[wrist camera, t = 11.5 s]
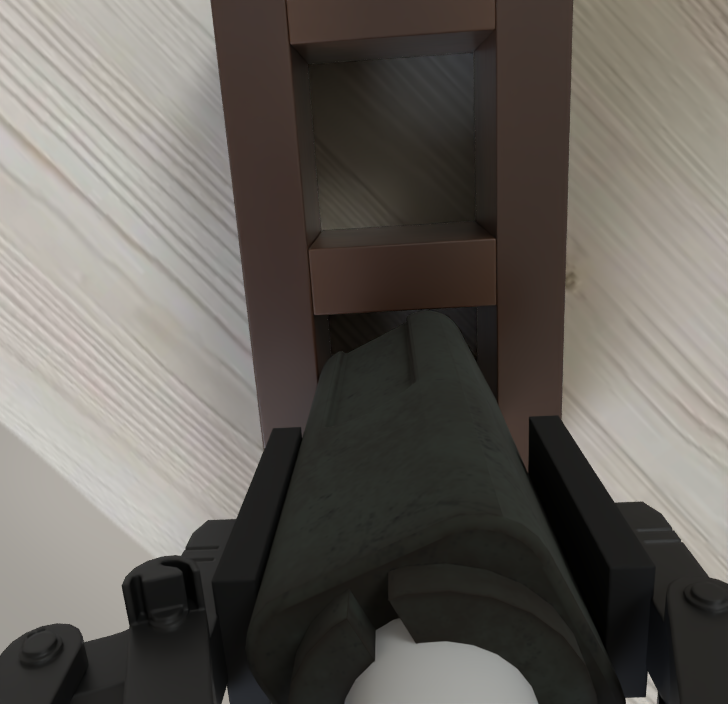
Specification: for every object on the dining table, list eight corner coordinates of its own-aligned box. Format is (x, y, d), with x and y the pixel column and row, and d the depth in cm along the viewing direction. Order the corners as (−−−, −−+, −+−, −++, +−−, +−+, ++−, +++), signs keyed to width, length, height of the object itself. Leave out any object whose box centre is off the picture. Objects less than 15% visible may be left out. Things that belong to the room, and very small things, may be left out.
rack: (291, 471, 29) (273, 535, 24) (241, 2, 24) (205, -35, 19) (529, 460, 29) (558, 523, 24) (535, -21, 23) (575, -64, 18)
